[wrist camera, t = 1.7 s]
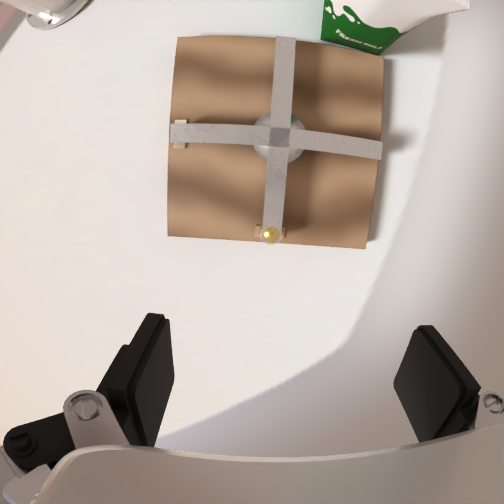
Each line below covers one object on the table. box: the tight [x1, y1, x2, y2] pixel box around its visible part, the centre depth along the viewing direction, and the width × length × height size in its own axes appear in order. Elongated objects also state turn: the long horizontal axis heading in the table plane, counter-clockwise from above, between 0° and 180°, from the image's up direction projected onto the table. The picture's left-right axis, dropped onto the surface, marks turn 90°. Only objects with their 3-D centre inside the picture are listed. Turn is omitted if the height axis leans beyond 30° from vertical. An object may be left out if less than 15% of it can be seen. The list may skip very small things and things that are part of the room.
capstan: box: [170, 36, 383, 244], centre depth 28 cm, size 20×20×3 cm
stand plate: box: [167, 36, 384, 249], centre depth 30 cm, size 22×22×2 cm
